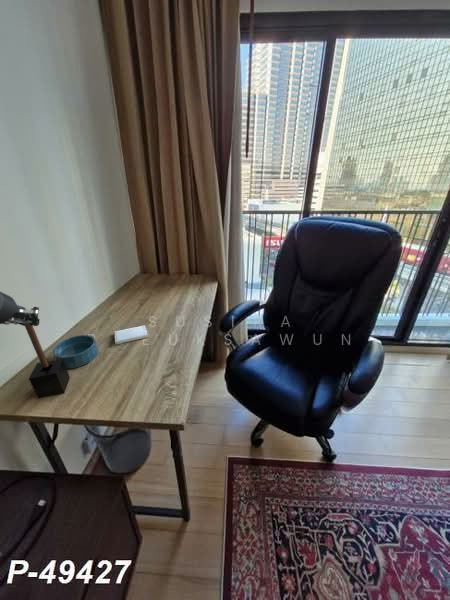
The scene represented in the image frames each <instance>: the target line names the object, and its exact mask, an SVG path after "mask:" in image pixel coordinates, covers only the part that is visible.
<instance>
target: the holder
mask: <svg viewBox="0 0 450 600" xmlns="http://www.w3.org/2000/svg"><path fill="white" fill-rule="evenodd" d="M47 362H48V365H49V366H48V367H46V368H42V365H41V363H40V362H37V363H36V365H35V367H34V368H33V370H32V372H31V374H30V375H29V377H28V381H29V382H30V385H31V387H32V389H33V391H34V393H35V395H36V398H37V399H44V398H48V397H49V398H50V397H53V396H58V395H63V394H65V392H66V390H67V388H68V384H69V382H70V379H71V377H70V374H69V371H68V368H66V366H65V363H64V361H63V359H58V360H55V359H52V360H47Z"/></svg>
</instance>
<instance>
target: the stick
mask: <svg viewBox="0 0 450 600" xmlns="http://www.w3.org/2000/svg"><path fill="white" fill-rule="evenodd" d="M24 325H25V326H24V328H25V330H26V332H27V335H28V337H29V339H30V342H31V344H32V347H33V349H34V351H35V353H36V356H37V358H38V360H39V363H41V365H42V368H46V367H48V366H49V365H48V362H47V361H48V360H47V358H46V354H45V352H44V350H43V348H42V345H41V343H40V340H39V338H38V336H37V333H36V331H35V328H34V326H33V325H30V324H27V323H24Z"/></svg>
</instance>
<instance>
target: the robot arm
mask: <svg viewBox="0 0 450 600" xmlns="http://www.w3.org/2000/svg"><path fill="white" fill-rule="evenodd" d="M39 311H40V307H39V306H33V307H32V308H30V309H28V308H26V307H25V306H21V305H18V304H17V302H16V300H15V299H14V298H13V296H10V295H8V294H6V293H4V292H3V291H0V325H11V324H13V325H15V326H17V325H20V326H23V327H25V325H24V323H27V324H30V325H32V326H33V327H38V326H39V325H40V320H41V318H39Z"/></svg>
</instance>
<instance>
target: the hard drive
mask: <svg viewBox="0 0 450 600" xmlns="http://www.w3.org/2000/svg"><path fill="white" fill-rule="evenodd" d="M148 337H149V335H148V330H147V327H146V325H140V326H134V327H130V328H124V329H121V330H115V331H114V343H115V345H120V344H124V343H129V342H132V341H137V340H141V339H145V338H148Z"/></svg>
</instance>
